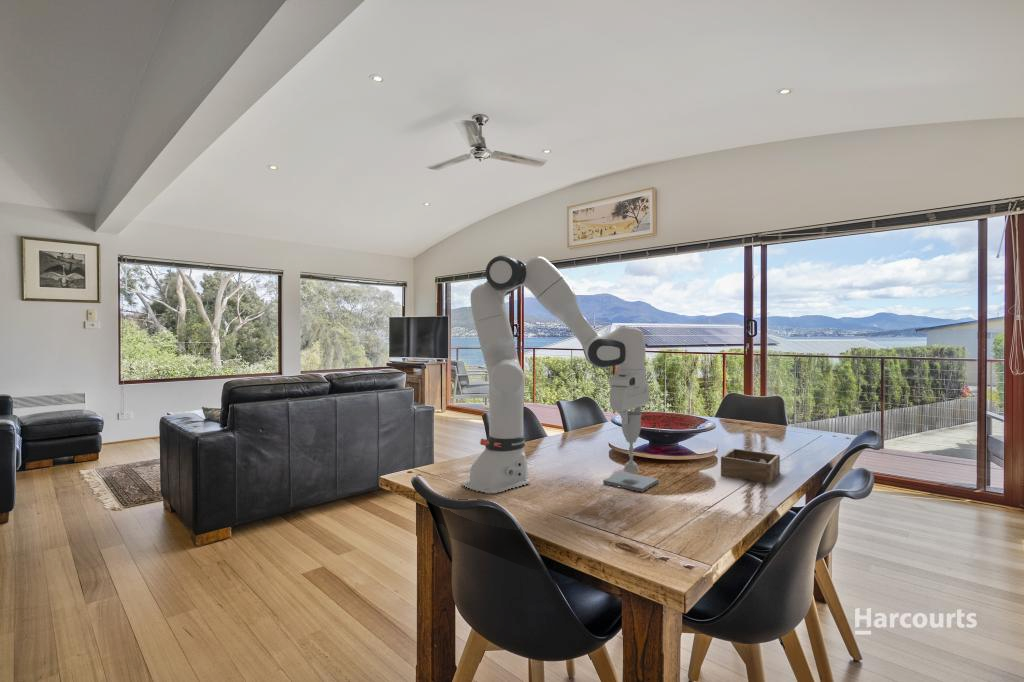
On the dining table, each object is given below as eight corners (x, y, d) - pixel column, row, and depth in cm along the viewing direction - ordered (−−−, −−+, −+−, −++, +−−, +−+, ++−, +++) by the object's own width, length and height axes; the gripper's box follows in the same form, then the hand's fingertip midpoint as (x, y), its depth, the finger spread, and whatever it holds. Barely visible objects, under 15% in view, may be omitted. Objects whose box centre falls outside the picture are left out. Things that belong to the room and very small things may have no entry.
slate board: (642, 492, 144) (642, 488, 144) (603, 483, 152) (603, 480, 152) (658, 482, 153) (658, 478, 153) (621, 474, 161) (621, 471, 161)
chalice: (641, 474, 148) (641, 415, 147) (618, 472, 150) (618, 414, 150) (643, 468, 155) (643, 411, 154) (621, 466, 157) (621, 410, 157)
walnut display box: (769, 483, 151) (769, 464, 151) (720, 474, 161) (720, 456, 161) (779, 472, 163) (779, 455, 163) (733, 465, 172) (733, 448, 172)
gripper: (636, 374, 162) (636, 416, 162) (606, 380, 146) (606, 425, 146) (654, 375, 158) (654, 418, 158) (625, 381, 142) (625, 428, 142)
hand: (631, 422), depth 152 cm, fingers closed on chalice, 6 cm apart
